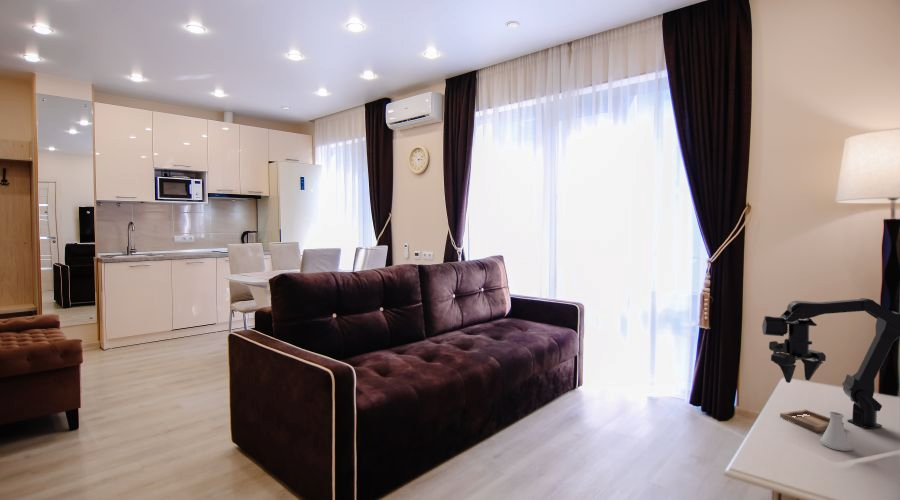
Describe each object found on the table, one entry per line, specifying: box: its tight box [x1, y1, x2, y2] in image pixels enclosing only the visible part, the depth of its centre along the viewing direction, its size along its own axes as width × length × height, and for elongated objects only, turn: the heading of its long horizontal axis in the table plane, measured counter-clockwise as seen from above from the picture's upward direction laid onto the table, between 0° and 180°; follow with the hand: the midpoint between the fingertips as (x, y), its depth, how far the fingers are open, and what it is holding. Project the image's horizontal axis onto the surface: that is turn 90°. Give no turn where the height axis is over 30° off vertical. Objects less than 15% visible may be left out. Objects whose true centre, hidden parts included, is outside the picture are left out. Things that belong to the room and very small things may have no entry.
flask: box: [819, 411, 853, 452], centre depth 135 cm, size 7×7×10 cm
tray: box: [779, 409, 844, 434], centre depth 151 cm, size 12×12×2 cm
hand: (797, 381), depth 157 cm, fingers open, 9 cm apart
